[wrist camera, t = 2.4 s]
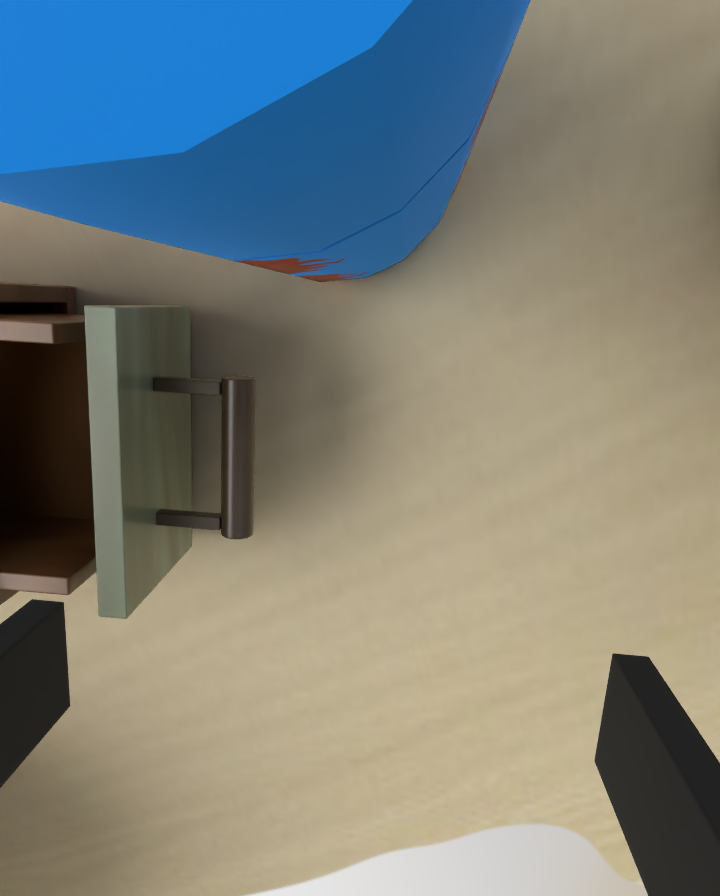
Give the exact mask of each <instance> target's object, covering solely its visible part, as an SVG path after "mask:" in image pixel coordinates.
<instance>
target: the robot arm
mask: <svg viewBox="0 0 720 896" xmlns="http://www.w3.org/2000/svg"><path fill="white" fill-rule="evenodd" d="M69 707H70V696H69V679H68V663H67V647H66V631H65V615H64V602H55V601H44V600H33V599H32V600H31V601H29V602H28V603H27V604H26V605H24V606H23V607H22V608H20V609H19V610H18V611H17V612H15V613H14V614H13V615H11V616H10V617H9V618H8V619H6V620H5V621H4V622H2V623H1V624H0V788H1V787H2V785H3V784H4V783H5V782H6V781H7V780H8V778H9V777H10V776H11V775H12V774H13V772H14V771H15V770H16V769H17V768H18V767H19V765H20V764H21V763H22V762H23V761H24V760H25V758H26V757H27V756H28V755H29V754H30V752H31V751H32V750H33V749H34V748H35V747H36V745H37V744H38V743H39V742H40V741H41V740H42V738H43V737H44V736H45V735H46V734H47V732H48V731H49V730H50V729H51V728H52V727H53V725H54V724H55V723H56V722H57V721H58V720H59V718H60V717H61V716H62V715H63V714H64V713H65V711H66V710H67V709H68V708H69ZM595 763H596V766H597V768H598V771H599V773H600V776H601V778H602V781H603V783H604V786H605V788H606V791H607V793H608V796H609V798H610V801H611V803H612V806H613V808H614V811H615V813H616V816H617V818H618V821H619V823H620V826H621V828H622V831H623V833H624V836H625V838H626V841H627V843H628V846H629V848H630V851H631V853H632V856H633V858H634V861H635V863H636V866H637V868H638V871H639V874H640V876H641V879H642V881H643V884H644V886H645V888H646V891H647V893H648V896H720V763H719V761H718V760H717V758H716V757H715V755H714V754H713V752H712V751H711V749H710V748H709V746H708V745H707V743H706V742H705V740H704V739H703V737H702V736H701V734H700V733H699V731H698V730H697V728H696V727H695V725H694V724H693V722H692V721H691V719H690V718H689V716H688V715H687V713H686V712H685V711H684V709H683V708H682V706H681V705H680V703H679V702H678V700H677V699H676V697H675V696H674V694H673V693H672V691H671V690H670V688H669V687H668V685H667V684H666V682H665V681H664V679H663V678H662V676H661V675H660V673H659V672H658V670H657V669H656V667H655V666H654V664H653V663H652V661H651V660H650V658H649V657H645V656H634V655H623V654H613V655H612V661H611V666H610V672H609V678H608V684H607V690H606V696H605V702H604V708H603V714H602V720H601V726H600V732H599V738H598V743H597V749H596V755H595Z"/></svg>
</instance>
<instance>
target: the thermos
mask: <svg viewBox="0 0 720 896" xmlns="http://www.w3.org/2000/svg"><path fill="white" fill-rule="evenodd" d="M529 3H530V0H0V201H2V202H5V203H9V204H13V205H16V206H20V207H23V208H27V209H31V210H34V211H38V212H42V213H45V214H49V215H53V216H56V217H60V218H63V219H67V220H71V221H74V222H78V223H82V224H85V225H89V226H93V227H97V228H101V229H105V230H110V231H114V232H118V233H122V234H126V235H130V236H134V237H138V238H142V239H146V240H151V241H155V242H159V243H163V244H167V245H171V246H175V247H179V248H183V249H187V250H191V251H196V252H200V253H204V254H208V255H212V256H216V257H220V258H224V259H228V260H233V261H237V262H241V263H245V264H249V265H253V266H257V267H261V268H265V269H269V270H273V271H277V272H282V273H286V274H290V275H294V276H298V277H302V278H306V279H310V280H314V281H318V282H325V281H335V280H346V279H356V278H365V277H369V276H371V275H373V274H375V273H377V272H379V271H381V270H384V269H386V268H388V267H390V266H392V265H394V264H396V263H398V262H400V261H402V260H404V259H405V258H406V257H407V256H408V255H409V254H410V253H411V252H412V250H413V249H414V248H415V247H416V246H417V245H418V244H419V243H420V242H421V241H422V240H423V239H424V238H425V237H426V236H427V235H428V234H429V233H430V232H431V231H432V230H433V229H434V228H435V227H436V226H437V225H438V224H439V222H440V220H441V217H442V215H443V213H444V211H445V209H446V207H447V205H448V202H449V200H450V198H451V196H452V194H453V192H454V190H455V188H456V185H457V183H458V181H459V179H460V177H461V174H462V172H463V169H464V167H465V164H466V162H467V159H468V156H469V154H470V151H471V149H472V146H473V144H474V141H475V139H476V136H477V134H478V131H479V129H480V126H481V124H482V121H483V119H484V116H485V114H486V111H487V109H488V106H489V104H490V101H491V98H492V96H493V93H494V91H495V88H496V86H497V83H498V81H499V78H500V76H501V73H502V71H503V68H504V66H505V63H506V61H507V58H508V56H509V53H510V51H511V48H512V46H513V42H514V40H515V38H516V35H517V33H518V30H519V28H520V25H521V23H522V20H523V18H524V15H525V13H526V10H527V8H528V5H529Z"/></svg>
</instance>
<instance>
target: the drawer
mask: <svg viewBox="0 0 720 896" xmlns="http://www.w3.org/2000/svg"><path fill="white" fill-rule="evenodd" d="M84 313H85V315H77V314H61V313H44V312H28V311H11V310H0V589H6V590H17V591H28V592H39V593H50V594H61V595H70V594H71V593H72V592H73V591H74V590H75V589H77V588H78V587H79V586H80V585H81V584H82V583H84V582H85V581H86V580H87V579H88V578H89V577H91V576H92V575H93V574H94V573H95V572H96V571H97V591H98V613H99V616H101V617H111V618H122V619H127V618H128V617H129V615H130V614H131V613H132V612H133V611H134V610H135V609H136V608H137V607H138V605H139V604H140V603H141V602H142V601H143V600H144V599H145V598H146V597H147V595H148V594H149V593H150V592H151V591H152V590H153V589H154V588H155V587H156V585H157V584H158V583H159V582H160V581H161V580H162V579H163V578H164V576H165V575H166V574H167V573H168V572H169V571H170V570H171V569H172V568H173V566H174V565H175V564H176V563H177V562H178V561H179V560H180V559H181V558H182V556H183V555H184V554H185V553H186V552H187V551H188V550H189V549H190V548H191V546H192V528H198V529H210V530H220V529H221V534H222V536H224V537H226V538H229V539H244V538H248V537H250V536H251V535H252V534H253V510H254V451H255V392H256V379H255V378H254V377H250V376H237V375H233V376H224V377H222V380H210V379H195V378H191V362H190V306H177V305H85V306H84ZM191 394H199V395H214V396H220V395H222V445H221V514H220V513H207V512H195V511H192V491H191Z"/></svg>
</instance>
